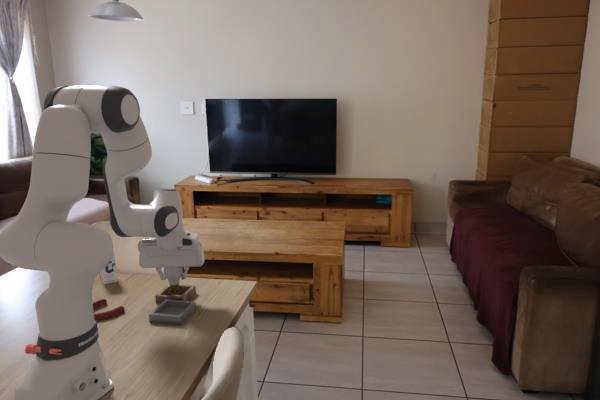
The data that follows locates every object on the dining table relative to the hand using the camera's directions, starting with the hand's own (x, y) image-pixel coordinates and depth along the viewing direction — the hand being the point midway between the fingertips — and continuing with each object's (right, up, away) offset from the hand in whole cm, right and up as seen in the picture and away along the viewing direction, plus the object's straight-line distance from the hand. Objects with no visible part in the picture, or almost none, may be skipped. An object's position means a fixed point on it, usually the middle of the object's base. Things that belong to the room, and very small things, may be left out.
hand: (173, 279), depth 148 cm
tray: (+3, -9, -10) cm, 14 cm away
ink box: (-29, -3, +18) cm, 34 cm away
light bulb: (0, -4, +1) cm, 4 cm away
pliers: (-24, -10, -10) cm, 28 cm away
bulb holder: (0, -6, +2) cm, 7 cm away
